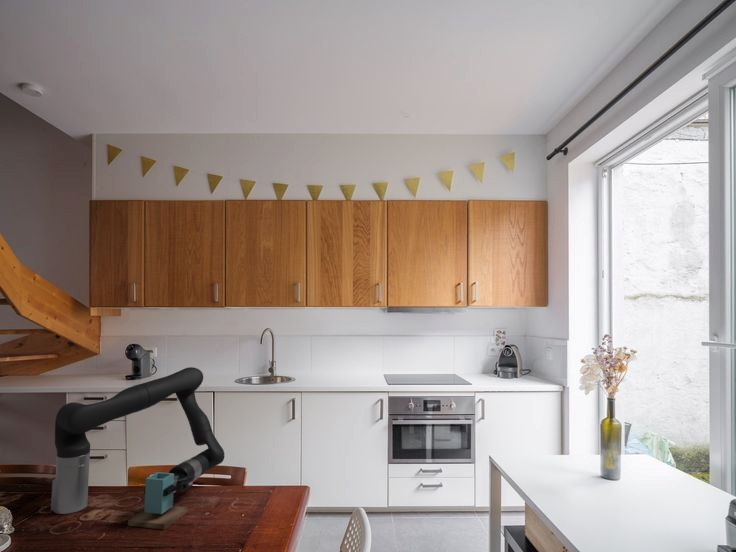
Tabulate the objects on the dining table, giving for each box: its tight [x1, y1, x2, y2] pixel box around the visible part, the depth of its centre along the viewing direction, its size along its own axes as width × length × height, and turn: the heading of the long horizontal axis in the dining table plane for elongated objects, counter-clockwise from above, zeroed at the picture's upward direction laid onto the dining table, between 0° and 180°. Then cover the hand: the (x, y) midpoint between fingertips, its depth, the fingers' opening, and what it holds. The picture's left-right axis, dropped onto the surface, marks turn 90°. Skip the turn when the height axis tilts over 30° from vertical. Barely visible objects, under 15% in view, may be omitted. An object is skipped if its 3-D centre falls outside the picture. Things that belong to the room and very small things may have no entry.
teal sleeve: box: [143, 471, 174, 514], centre depth 148 cm, size 6×6×10 cm
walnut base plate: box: [127, 505, 188, 530], centre depth 147 cm, size 12×12×2 cm
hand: (154, 492), depth 145 cm, fingers closed on teal sleeve, 5 cm apart
